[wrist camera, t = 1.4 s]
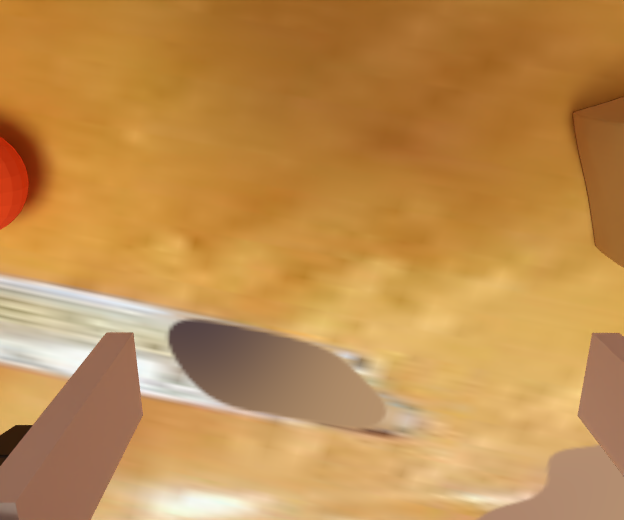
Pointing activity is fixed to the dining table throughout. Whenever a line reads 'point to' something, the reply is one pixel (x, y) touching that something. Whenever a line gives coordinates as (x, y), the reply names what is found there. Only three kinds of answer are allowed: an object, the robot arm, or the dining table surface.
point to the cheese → (604, 172)
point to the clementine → (11, 183)
